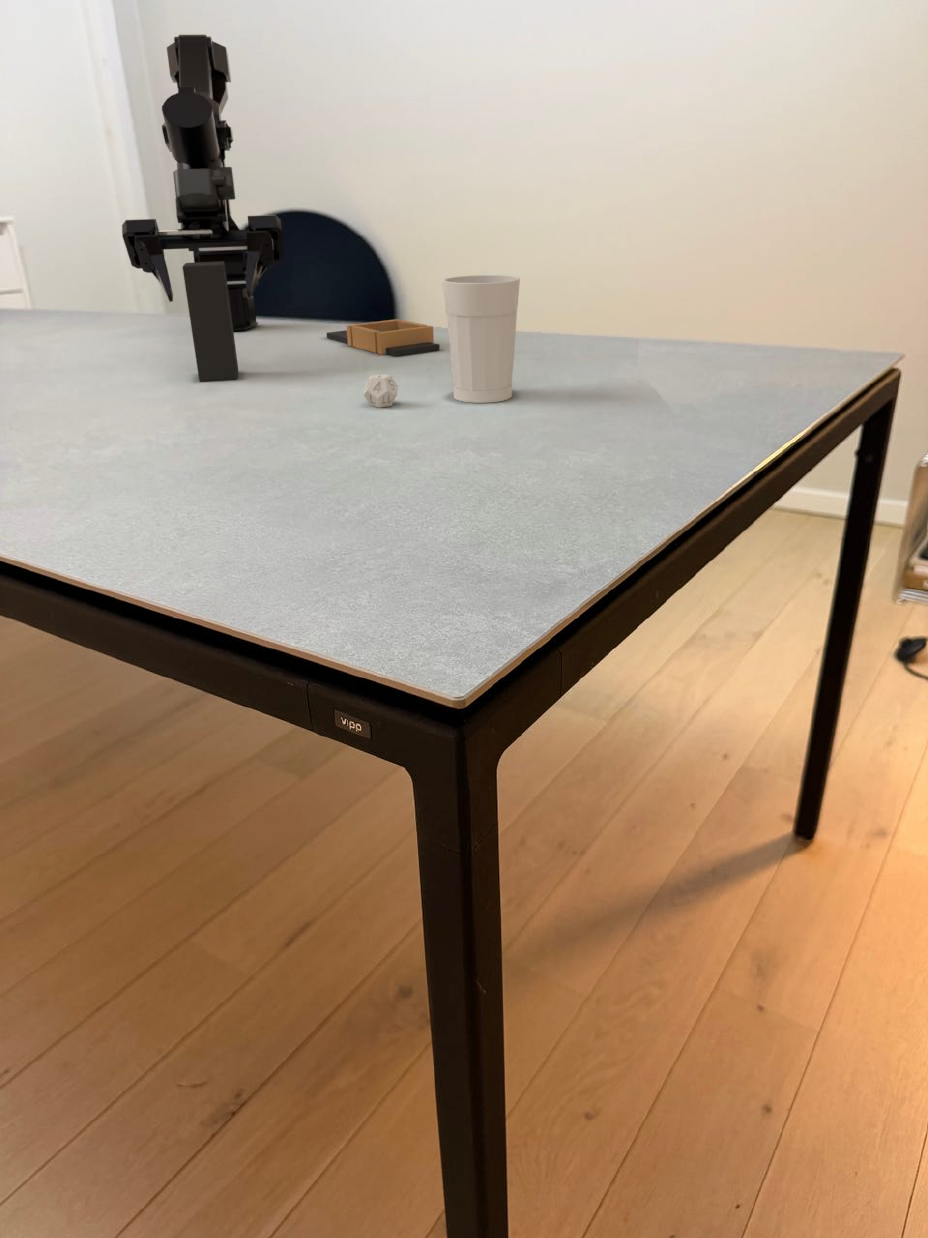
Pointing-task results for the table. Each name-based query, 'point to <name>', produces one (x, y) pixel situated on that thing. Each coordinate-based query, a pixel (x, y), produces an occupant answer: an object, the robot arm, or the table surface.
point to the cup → (482, 335)
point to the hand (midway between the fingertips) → (209, 297)
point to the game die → (381, 390)
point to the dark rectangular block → (211, 320)
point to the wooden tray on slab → (388, 337)
